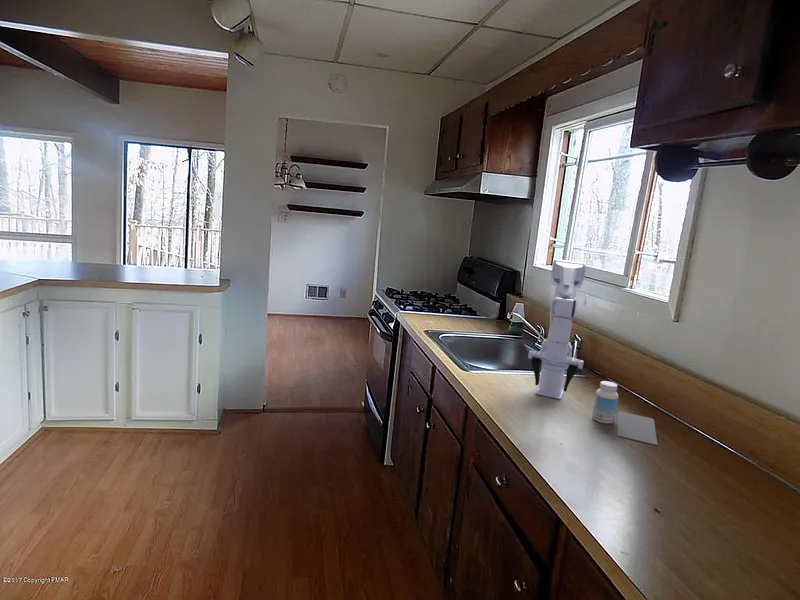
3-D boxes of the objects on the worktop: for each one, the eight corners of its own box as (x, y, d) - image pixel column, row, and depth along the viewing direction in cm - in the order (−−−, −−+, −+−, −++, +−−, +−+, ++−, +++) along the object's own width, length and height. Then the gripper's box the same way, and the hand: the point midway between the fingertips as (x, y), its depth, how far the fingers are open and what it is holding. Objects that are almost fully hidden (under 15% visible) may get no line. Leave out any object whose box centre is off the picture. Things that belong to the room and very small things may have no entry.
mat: (617, 411, 158) (618, 410, 157) (653, 419, 154) (653, 418, 154) (617, 436, 139) (617, 435, 139) (657, 445, 136) (657, 444, 136)
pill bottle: (618, 424, 148) (625, 387, 146) (599, 424, 146) (606, 387, 144) (605, 415, 154) (611, 380, 152) (587, 415, 152) (593, 379, 150)
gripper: (529, 338, 140) (522, 385, 143) (584, 349, 135) (576, 397, 137) (533, 333, 147) (527, 378, 149) (586, 343, 141) (578, 389, 144)
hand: (551, 387), depth 144 cm, fingers open, 7 cm apart
